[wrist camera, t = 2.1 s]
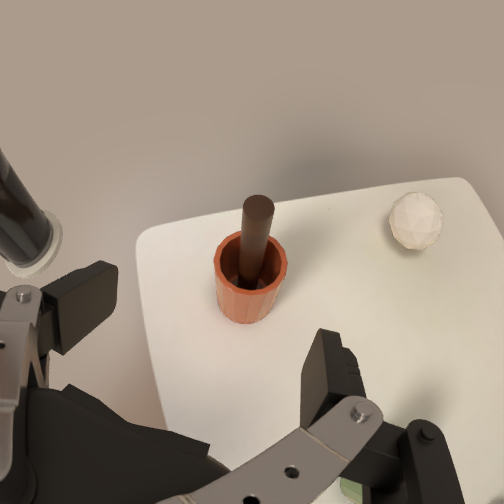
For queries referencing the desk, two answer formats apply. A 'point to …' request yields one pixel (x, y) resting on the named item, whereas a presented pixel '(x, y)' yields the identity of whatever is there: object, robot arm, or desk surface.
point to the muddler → (253, 240)
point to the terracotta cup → (241, 300)
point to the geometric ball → (416, 221)
